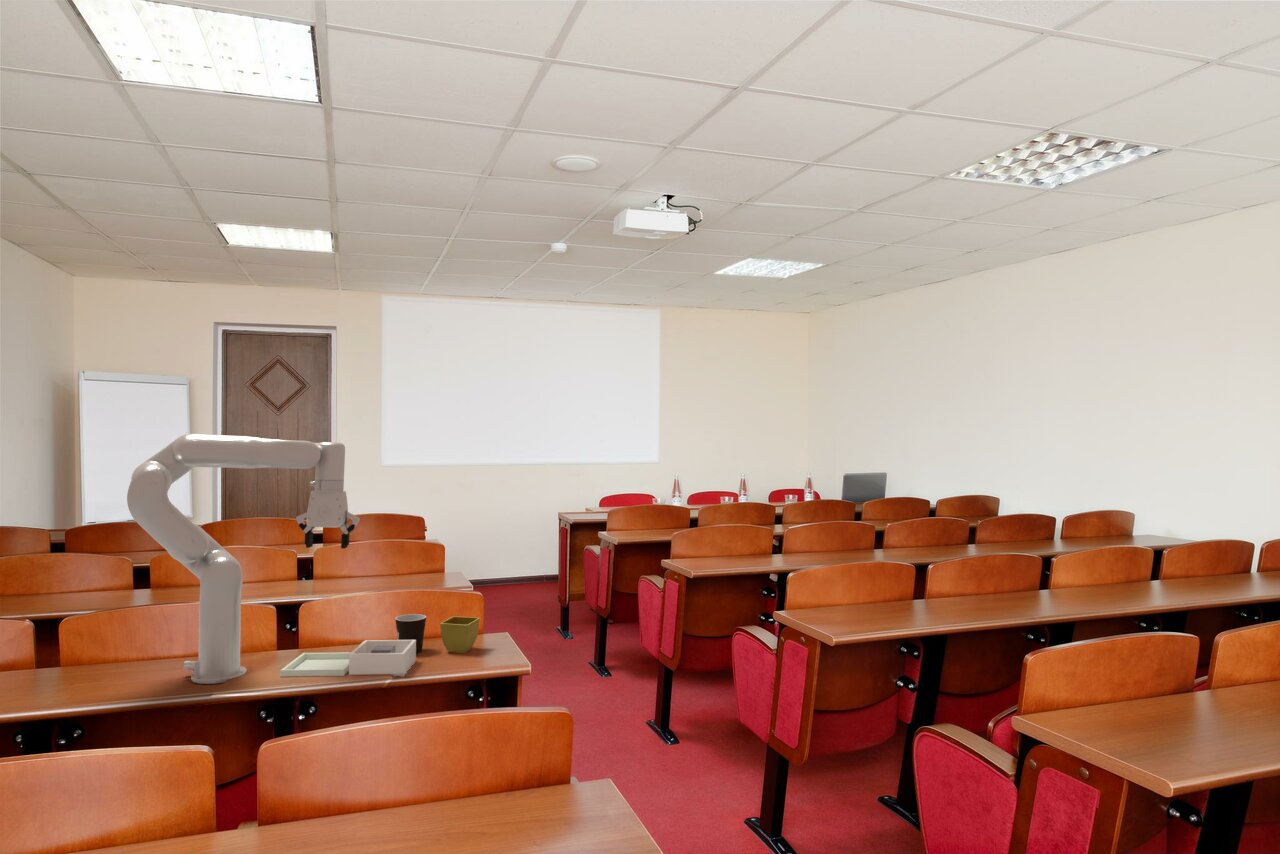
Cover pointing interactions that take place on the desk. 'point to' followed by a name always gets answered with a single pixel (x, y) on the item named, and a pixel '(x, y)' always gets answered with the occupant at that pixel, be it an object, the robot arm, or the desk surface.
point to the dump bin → (382, 658)
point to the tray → (317, 665)
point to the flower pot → (459, 633)
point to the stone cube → (384, 649)
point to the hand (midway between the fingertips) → (326, 547)
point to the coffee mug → (411, 629)
